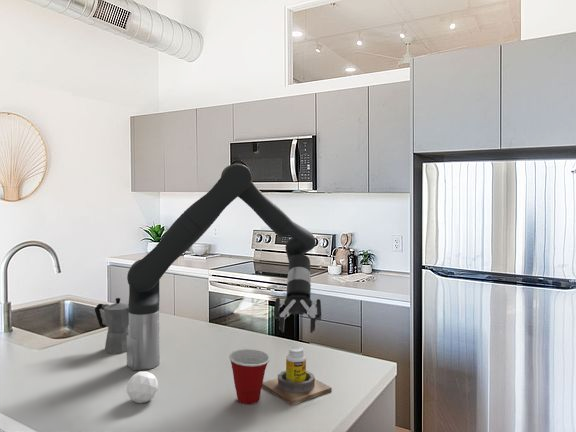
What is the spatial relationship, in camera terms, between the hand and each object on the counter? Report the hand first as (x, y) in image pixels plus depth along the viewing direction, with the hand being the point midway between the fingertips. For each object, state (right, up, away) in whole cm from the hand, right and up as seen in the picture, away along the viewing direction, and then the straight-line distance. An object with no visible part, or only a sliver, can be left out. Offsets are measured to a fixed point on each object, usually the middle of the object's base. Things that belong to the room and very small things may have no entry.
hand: (297, 331), depth 132 cm
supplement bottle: (0, -14, -6) cm, 15 cm away
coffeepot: (-63, -13, +24) cm, 68 cm away
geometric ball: (-41, -15, -14) cm, 46 cm away
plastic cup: (-13, -15, -13) cm, 24 cm away
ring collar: (0, -14, -6) cm, 16 cm away
